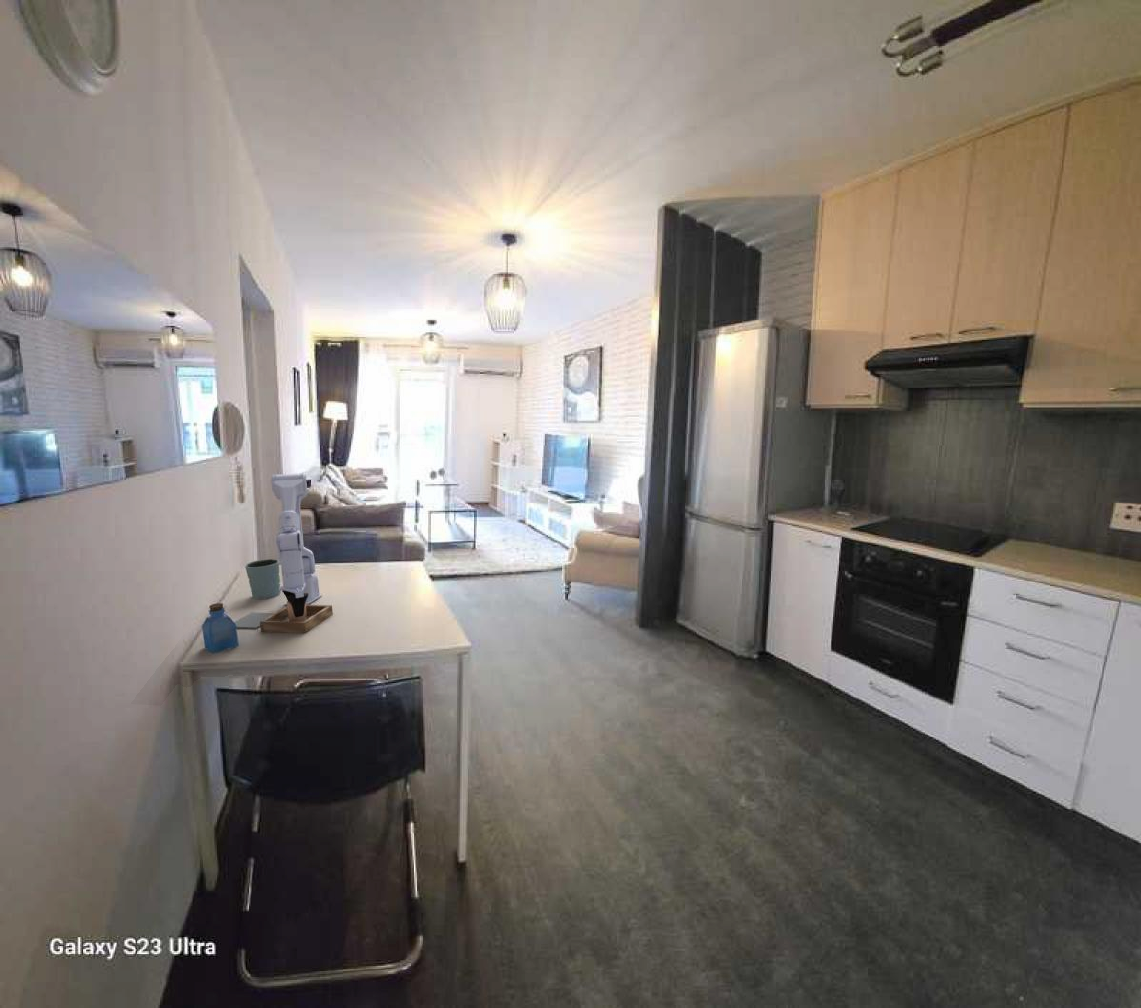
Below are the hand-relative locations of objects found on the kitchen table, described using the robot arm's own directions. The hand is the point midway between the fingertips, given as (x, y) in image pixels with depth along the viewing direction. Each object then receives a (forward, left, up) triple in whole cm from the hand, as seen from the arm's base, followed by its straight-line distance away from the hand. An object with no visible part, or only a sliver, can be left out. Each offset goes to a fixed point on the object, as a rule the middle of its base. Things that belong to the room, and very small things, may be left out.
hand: (297, 613), depth 152 cm
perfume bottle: (+17, -11, -3) cm, 20 cm away
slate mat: (0, -14, -3) cm, 15 cm away
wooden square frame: (0, 0, -3) cm, 3 cm away
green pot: (-22, -27, -3) cm, 35 cm away
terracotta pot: (0, 0, -2) cm, 2 cm away
